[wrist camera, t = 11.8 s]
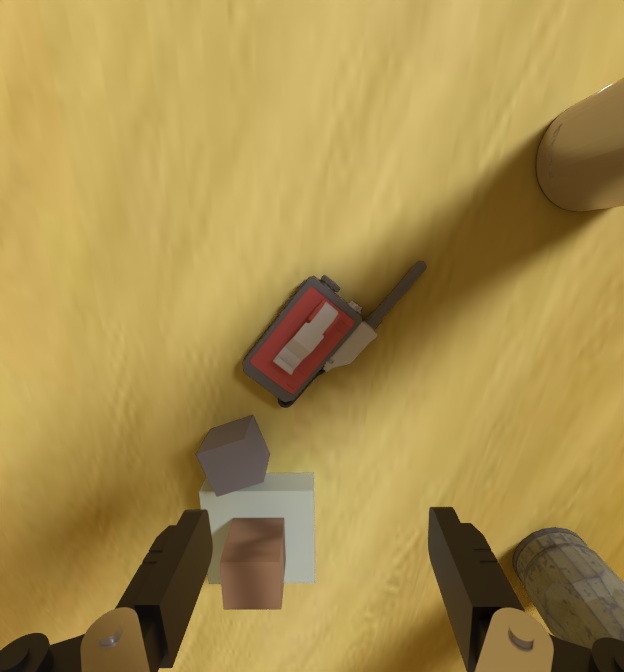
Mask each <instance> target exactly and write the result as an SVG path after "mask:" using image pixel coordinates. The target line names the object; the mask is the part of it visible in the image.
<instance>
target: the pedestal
mask: <svg viewBox="0 0 624 672" xmlns="http://www.w3.org/2000/svg"><path fill="white" fill-rule="evenodd" d="M199 497H200V506H201V509H206V510H207V511H208V514H209V521H210V528H211V535H212V542H213V553H212V559H211V563H210V566H209V569H208V581H209V584H221V575H220V564H219V562H220V559H221V555H222V552H223V549H224V545H225V542H226V539H227V535H228V532H229V529H230V526H231V522H232V519H233V518H284V520H285V549H286V564H285V575H284V583H315V514H314V473H266V474H265V479H264V482H263V483H260V484H257V485H254V486H250V487H247V488H244V489H241V490H238V491H234V492H231V493H228V494H225V495H222V496H218V497H216V495H215V493H214V491H213V489H212V487H211V484H210V482H209V480H208V478H207V476H206V478H205V480H204V482H203V484H202V486H201V488H200V491H199Z"/></svg>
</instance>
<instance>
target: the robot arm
mask: <svg viewBox="0 0 624 672" xmlns="http://www.w3.org/2000/svg"><path fill="white" fill-rule="evenodd" d="M536 171H537V176H538V181H539V184H540V186H541V188H542V191H543V192H544V193H545V195H546V196H547V197H548V199H549V200H551V201H552V202H553V203H554V204H555V205H557V206H559V207H561V208H563V209H566V210H571V211H590V210H597V209H604V208H612V207H620V206H624V78H622V79H620V80H619V81H617V82H615V83H613V84H611V85H609V86H607V87H606V88H604V89H602V90H600V91H598V92H597V93H595V94H593V95H591V96H589V97H588V98H586V99H584V100H582V101H580V102H579V103H577V104H575V105H573V106H571V107H570V108H568V109H567V110H566V111H564V112H563V113H561V114H560V115H559V116H558V117H557V118H556V119H555V120H554V121H553V123H552V124H551V125H550V127H549V128H548V130H547V131H546V133H545V134H544V136H543V139H542V141H541V143H540V146H539V150H538V154H537V163H536ZM428 550H429V556H430V561H431V564H432V567H433V570H434V573H435V576H436V579H437V582H438V585H439V588H440V591H441V595H442V598H443V601H444V604H445V607H446V610H447V613H448V616H449V619H450V622H451V625H452V628H453V631H454V634H455V637H456V640H457V643H458V646H459V649H460V652H461V655H462V658H463V661H464V664H465V667H466V670H467V672H624V641H621V640H619V639H615V638H609V637H603V638H599V639H597V640H596V641H595V642H594V643H593V646H592V649H589V648H586V647H583V646H580V645H577V644H574V643H570V642H567V641H564V640H561V639H559V638H556V637H554V636H552V635H550V634H549V633H548V632H547V631H546V629H545V628H544V627H543V626H542V625H541V623H539V622H538V621H537V620H536V619H535V618H533V617H532V616H531V615H529V614H527V613H526V612H525V611H524V609H523V607H522V605H521V604H520V602H519V600H518V598H517V596H516V594H515V592H514V591H513V589H512V587H511V585H510V583H509V581H508V580H507V578H506V576H505V574H504V572H503V570H502V569H501V567H500V565H499V564H498V563H497V559H496V557H495V556H494V554H493V552H491V548H490V546H489V545H488V543H487V541H486V539H485V537H484V535H483V534H482V533H481V532H480V531H479V530H477V529H476V528H475V527H474V526H473V525H472V524H471V523H460V521H459V519H458V516H457V514H456V512H455V510H454V509H453V507H430V509H429V529H428ZM212 553H213V542H212V535H211V528H210V521H209V514H208V511H207V510H206V509H193V510H185V511H184V512H183V514H182V516H181V518H180V520H179V521H178V523H177V525H171V526H168V527H167V528H166V529H165V530H164V531H163V532H162V533H161V534H160V535H159V536H157V538H156V539H155V541H154V543H153V544H152V546H151V548H150V550H149V553H147V555H146V557H145V558H144V560H143V563H142V565H140V567H139V569H138V570H137V572H136V574H135V575H134V577H133V579H132V581H131V582H130V584H129V586H128V587H127V589H126V591H125V593H124V594H123V596H122V598H121V599H120V601H119V603H118V605H117V606H116V608H115V609H114V610H111V611H109V612H107V613H105V614H104V615H102V616H101V617H100V618H98V619H97V620H96V621H95V622H94V623H93V624H92V625H91V626H90V627H89V629H88V630H87V632H86V633H85V634H83V635H81V636H78V637H75V638H71V639H68V640H65V641H62V642H59V643H56V644H53V645H50V644H49V641H48V638H47V637H46V636H45V635H44V634H41V633H32V634H28V635H25V636H23V637H20V638H18V639H16V640H15V641H13V642H11V643H10V644H8V645H7V646H6V647H4V648H3V649H2V650H1V651H0V672H158V670H159V668H172V667H173V664H174V662H175V659H176V656H177V653H178V651H179V648H180V645H181V643H182V640H183V637H184V634H185V632H186V629H187V626H188V623H189V621H190V618H191V615H192V612H193V610H194V607H195V604H196V601H197V599H198V596H199V593H200V590H201V588H202V585H203V582H204V580H205V577H206V574H207V571H208V569H209V566H210V563H211V559H212Z"/></svg>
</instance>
